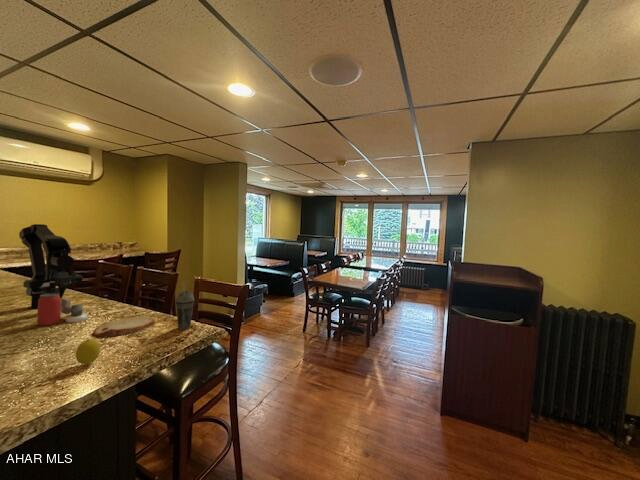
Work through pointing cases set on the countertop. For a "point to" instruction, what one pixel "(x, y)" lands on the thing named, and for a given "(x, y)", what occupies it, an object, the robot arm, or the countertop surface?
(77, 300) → the countertop surface
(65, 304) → the lever
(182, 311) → the beverage cup
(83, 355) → the lemon
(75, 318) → the lever base
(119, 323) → the slice of bread
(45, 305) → the beer can
